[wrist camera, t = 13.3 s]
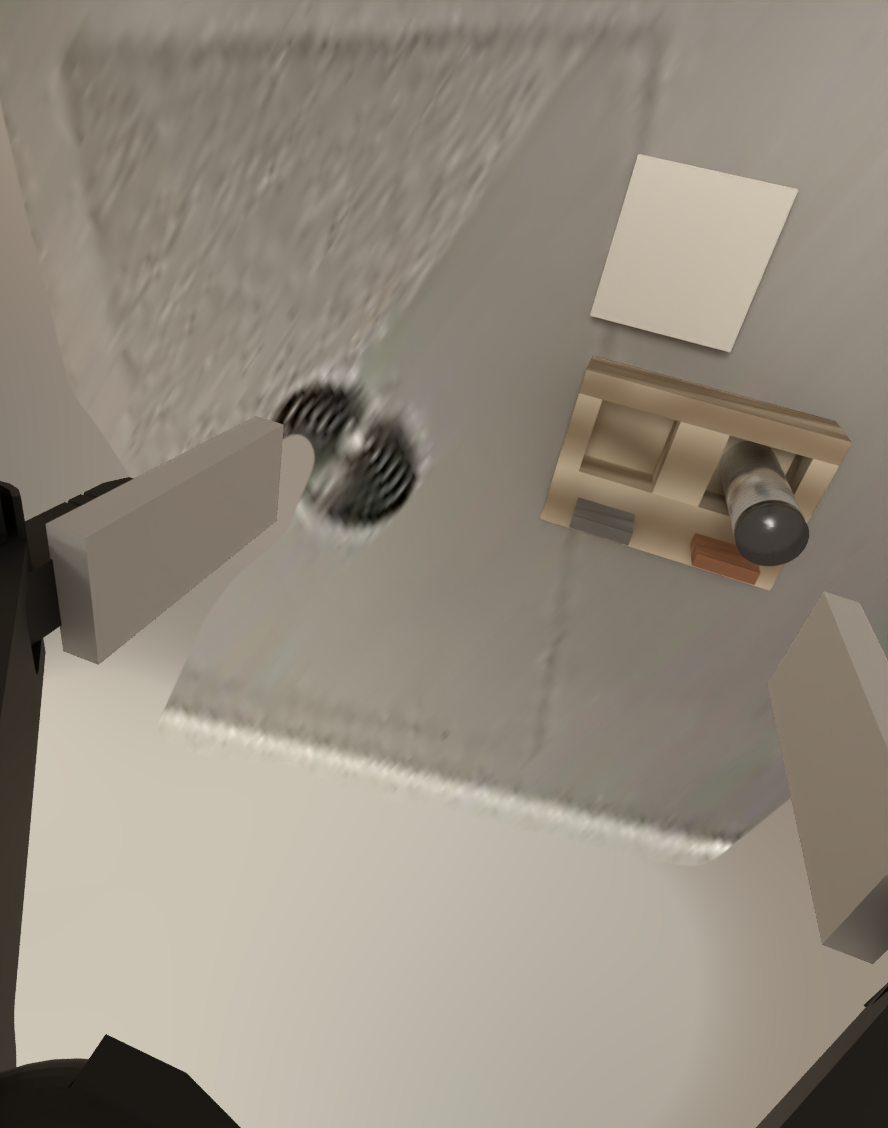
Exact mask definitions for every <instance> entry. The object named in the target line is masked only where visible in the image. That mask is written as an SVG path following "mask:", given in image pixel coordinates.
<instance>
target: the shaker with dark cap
mask: <svg viewBox="0 0 888 1128" xmlns="http://www.w3.org/2000/svg"><path fill="white" fill-rule="evenodd" d="M719 471H720V476H721V481H722V485H723V489H724V494H725V498H726V503H727V507H728V511H729V516H730V520H731V525H732V529H733V533H734V538H735V542H736V546H737V549H738V551H739V552H740V554H741V555H742V556H743V557H744V558H745V559H747V560H748V561H750V562H752V563H754V564H757V565H761V566H777V565H782V564H785V563H787V562H789V561H791V560H793V559H794V558H796V557H797V556H798V555H799V554H800V553H801V552H802V551H803V550H804V548H805V547H806V545H807V542H808V539H809V529H808V526H807V523H806V521H805V519H804V517H803V514H802V512H801V510H800V508H799V505H798V503H797V501H796V499H795V497H794V494H793V492H792V490H791V488H790V485H789V483H788V481H787V479H786V477H785V474H784V472H783V470H782V468H781V465H780V463H779V461H778V459H777V457H776V454H775V453H774V451H773V450H772V449H771V448H770V447H769V446H766V445H762V444H759V443H755V442H752V441H744V442H740V443H738V444H736V445H734V446H732V447H731V448H729V449H728V450H727V451H726V452H725V454H724V455H723V457H722V459H721V461H720V466H719Z"/></svg>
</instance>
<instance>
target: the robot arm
mask: <svg viewBox="0 0 888 1128" xmlns="http://www.w3.org/2000/svg"><path fill="white" fill-rule="evenodd" d="M282 438H283V424H280V423H276V422H273V421H270V420H267V419H263V418H260V417H257V416H255V417H253V418H251V419H249V420H247V421H245V422H244V423H242V424H240V425H238V426H236V427H234V428H232V429H230V430H228V431H226V432H224V433H222V434H220V435H218V436H216V437H214V438H212V439H210V440H208V441H206V442H205V443H203V444H201V445H199V446H197V447H195V448H193V449H191V450H189V451H187V452H185V453H183V454H181V455H179V456H177V457H175V458H173V459H171V460H169V461H167V462H166V463H164V464H162V465H160V466H158V467H156V468H154V469H152V470H150V471H148V472H146V473H144V474H142V475H140V476H138V477H136V478H134V479H133V478H130V477H128V478H123V479H119V480H114V481H110V482H106V483H103V484H100V485H98V486H96V487H94V488H92V489H90V490H88V491H86V492H84V495H81V494H80V495H78V496H76V497H74V498H72V499H70V500H69V501H68V503H65V502H64V503H62V504H60V505H58V506H56V507H54V508H52V509H50V510H48V511H46V512H43V513H42V514H40V515H38V516H35V517H33V518H32V519H29V520H27V521H25V520H24V514H23V508H22V501H21V496H20V493H19V490H18V489H17V488H16V487H14V486H13V485H11V484H9V483H5V482H1V481H0V1128H240V1127H239V1126H238V1125H237V1124H236V1123H235V1122H234V1121H233V1120H232V1119H231V1117H230V1116H228V1114H227V1113H226V1112H224V1110H223V1109H222V1108H220V1106H219V1105H218V1104H217V1103H216V1102H215V1101H214V1100H213V1099H212V1098H211V1097H210V1096H209V1095H208V1094H207V1093H206V1092H205V1091H204V1090H203V1089H202V1088H201V1087H200V1086H199V1085H198V1084H197V1083H196V1082H195V1081H194V1080H193V1079H192V1078H191V1077H190V1076H189V1075H188V1074H187V1073H185V1072H183V1071H181V1070H179V1069H177V1068H175V1067H173V1066H171V1065H169V1064H166V1063H164V1062H162V1061H160V1060H158V1059H156V1058H154V1057H152V1056H150V1055H148V1054H146V1053H144V1052H142V1051H140V1050H138V1049H135V1048H133V1047H131V1046H129V1045H127V1044H125V1043H123V1042H121V1041H119V1040H117V1039H115V1038H113V1037H111V1036H108V1035H107V1034H106V1035H105V1036H104V1038H103V1039H102V1041H101V1042H100V1044H99V1045H98V1047H97V1048H96V1049H95V1051H94V1052H93V1054H92V1056H91V1057H90V1058H89V1059H55V1060H48V1061H43V1062H37V1063H31V1064H26V1065H23V1066H20V1067H16V1044H15V1030H14V1004H15V991H16V979H17V968H18V957H19V946H20V934H21V923H22V911H23V901H24V889H25V878H26V867H27V855H28V844H29V833H30V822H31V809H32V799H33V788H34V776H35V764H36V754H37V741H38V731H39V720H40V707H41V697H42V686H43V674H44V663H45V647H44V640H43V637H45V636H46V635H48V634H49V633H51V632H52V631H54V630H55V629H56V628H58V627H59V626H60V630H61V637H62V644H63V651H64V652H67V653H70V654H72V655H75V656H77V657H80V658H83V659H85V660H88V661H90V662H93V663H96V664H100V663H101V662H102V661H104V660H105V659H106V658H107V657H109V656H110V655H111V654H112V653H114V652H115V651H116V650H117V649H118V648H120V647H121V646H122V645H123V644H125V643H126V642H127V641H128V640H130V639H131V638H132V637H133V636H135V635H136V634H137V633H138V632H140V631H141V630H142V629H143V628H144V627H146V626H147V625H148V624H149V623H151V622H152V621H153V620H154V619H156V618H157V617H158V616H159V615H160V614H162V613H163V612H164V611H166V610H167V609H168V608H169V607H171V605H173V604H174V603H175V602H176V601H178V600H179V599H180V598H182V597H183V596H184V595H185V594H187V593H188V592H189V591H190V590H192V589H193V588H194V587H195V586H196V585H198V584H199V583H200V582H201V581H203V580H204V579H205V578H206V577H207V576H209V575H210V574H211V573H213V572H214V571H215V570H216V569H218V568H219V567H220V566H221V565H222V564H224V563H225V562H226V561H227V560H228V559H230V558H231V557H232V556H234V555H235V554H236V553H237V552H239V551H240V550H241V549H242V548H243V547H245V546H246V545H247V544H248V543H250V542H251V541H252V540H253V539H255V538H256V537H257V536H258V535H260V534H261V533H262V532H263V531H265V530H266V529H267V528H268V527H269V526H271V525H272V524H273V523H274V522H276V521H277V509H278V495H279V480H280V467H281V452H282ZM767 686H768V691H769V695H770V700H771V705H772V710H773V714H774V719H775V724H776V729H777V733H778V738H779V743H780V748H781V752H782V757H783V762H784V767H785V771H786V776H787V781H788V786H789V790H790V795H791V800H792V804H793V809H794V814H795V819H796V823H797V828H798V833H799V838H800V842H801V847H802V852H803V857H804V861H805V866H806V870H807V876H808V880H809V885H810V890H811V894H812V899H813V903H814V909H815V913H816V918H817V923H818V927H819V932H820V937H821V942H822V945H825V946H828V947H830V948H833V949H835V950H838V951H841V952H843V953H845V954H848V955H851V956H853V957H856V958H858V959H861V960H864V961H866V962H869V963H871V964H873V963H874V962H875V961H876V960H878V959H879V958H880V957H881V956H882V955H883V954H884V953H885V952H886V951H887V950H888V660H887V658H886V656H885V654H884V652H883V650H882V648H881V646H880V644H879V642H878V640H877V638H876V636H875V633H874V631H873V629H872V627H871V625H870V623H869V621H868V619H867V617H866V615H865V613H864V611H863V609H862V607H861V605H860V603H859V602H856V601H853V600H849V599H846V598H843V597H840V596H836V595H833V594H830V593H827V592H823V593H822V595H821V596H820V598H819V600H818V601H817V603H816V605H815V606H814V608H813V610H812V611H811V613H810V614H809V616H808V618H807V619H806V621H805V623H804V624H803V626H802V628H801V629H800V631H799V633H798V634H797V636H796V638H795V639H794V641H793V642H792V644H791V646H790V647H789V649H788V651H787V652H786V654H785V656H784V657H783V659H782V661H781V662H780V664H779V666H778V667H777V669H776V670H775V672H774V674H773V675H772V677H771V679H770V680H769V682H768V684H767ZM864 1006H865V1007H866V1008H865V1009H864V1010H863V1011H862V1012H861V1013H860V1014H859V1016H858V1017H857V1018H856V1019H855V1020H854V1021H853V1022H852V1023H851V1024H850V1025H849V1026H848V1028H847V1029H846V1030H845V1031H844V1032H843V1033H842V1034H841V1035H840V1036H839V1038H838V1039H837V1040H836V1041H835V1042H834V1043H833V1044H832V1045H831V1046H830V1047H829V1048H828V1049H827V1050H826V1052H825V1053H824V1054H823V1055H822V1056H821V1057H820V1058H819V1059H818V1061H816V1063H815V1064H814V1065H813V1066H812V1067H811V1068H810V1069H809V1070H808V1071H807V1072H806V1073H805V1075H804V1076H803V1077H802V1078H801V1079H800V1080H799V1081H798V1082H797V1083H796V1085H795V1086H794V1087H793V1088H792V1089H791V1090H790V1091H789V1092H788V1093H787V1094H786V1096H784V1098H783V1099H782V1100H781V1101H780V1102H779V1103H778V1104H777V1105H776V1106H775V1107H774V1108H773V1110H772V1111H771V1112H770V1113H769V1114H768V1115H767V1116H766V1117H765V1118H764V1119H763V1121H762V1122H761V1123H760V1124H759V1125H758V1126H757V1127H756V1128H888V983H887V984H886V985H885V986H884V987H883V988H882V989H881V990H880V991H879V992H878V993H877V994H875V995H874V996H873V997H872V998H871V999H870V1000H869V1001H868V1002H867V1003H866V1004H864Z"/></svg>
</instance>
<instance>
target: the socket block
mask: <svg viewBox="0 0 888 1128" xmlns="http://www.w3.org/2000/svg"><path fill="white" fill-rule="evenodd" d="M744 441H752V442H755V443H759V444H762V445H766V446H769V447H770V448H771V449H772V450H773V451H774V453H775V454H776V457H777V459H778V461H779V463H780V465H781V468H782V470H783V472H784V474H785V477H786V479H787V481H788V483H789V485H790V488H791V490H792V492H793V494H794V497H795V499H796V501H797V503H798V505H799V508H800V510H801V512H802V514H803V517H804V519H805V521H806V523H808V521H809V520H810V518H811V516H812V514H813V512H814V511H815V509H816V507H817V505H818V503H819V502H820V500H821V498H822V496H823V494H824V493H825V491H826V489H827V487H828V485H829V484H830V482H831V480H832V478H833V476H834V474H835V473H836V471H837V469H838V467H839V465H840V464H841V462H842V460H843V458H844V456H845V455H846V453H847V451H848V449H849V447H850V446H851V444H852V442H851V440H850V439H849V438H848V437H847V435H846V434H845V433H844V431H843V430H842V429H841V428H840V426H839V425H838V424H837V423H836V421H832V420H828V419H825V418H821V417H817V416H813V415H810V414H806V413H802V412H799V411H795V410H791V409H788V408H784V407H780V406H777V405H773V404H769V403H765V402H762V401H758V400H754V399H751V398H747V397H743V396H740V395H736V394H732V393H729V392H725V391H721V390H717V389H714V388H710V387H706V386H703V385H699V384H695V383H692V382H688V381H684V380H681V379H677V378H673V377H669V376H666V375H662V374H658V373H655V372H651V371H647V370H644V369H640V368H636V367H633V366H629V365H625V364H621V363H618V362H614V361H610V360H607V359H603V358H599V357H596V356H593V357H592V359H591V361H590V363H589V365H588V367H587V369H586V372H585V376H584V379H583V382H582V385H581V389H580V392H579V395H578V398H577V401H576V405H575V408H574V411H573V414H572V418H571V421H570V424H569V427H568V431H567V434H566V437H565V440H564V443H563V447H562V450H561V453H560V456H559V460H558V463H557V466H556V469H555V472H554V476H553V479H552V482H551V485H550V489H549V492H548V495H547V498H546V501H545V505H544V508H543V511H542V514H541V518H540V519H542V520H545V521H549V522H552V523H555V524H558V525H561V526H565V527H568V528H571V529H574V530H577V531H581V532H584V533H587V534H590V535H593V536H597V537H600V538H603V539H606V540H609V541H613V542H616V543H619V544H622V545H625V546H629V547H632V548H635V549H638V550H641V551H645V552H648V553H651V554H654V555H657V556H661V557H664V558H667V559H670V560H673V561H677V562H680V563H683V564H686V565H689V566H693V567H696V568H699V569H702V570H705V571H709V572H712V573H715V574H718V575H721V576H725V577H728V578H731V579H734V580H737V581H741V582H744V583H747V584H750V585H753V586H757V587H760V588H763V589H766V590H769V591H770V590H771V588H772V586H773V584H774V583H775V581H776V579H777V577H778V575H779V574H780V572H781V570H782V568H783V566H784V565H785V564H782V565H777V566H761V565H757V564H754V563H752V562H750V561H748V560H747V559H745V558H744V557H743V556H742V555H741V554H740V552H739V551H738V549H737V546H736V542H735V538H734V533H733V529H732V525H731V520H730V516H729V511H728V507H727V503H726V498H725V494H724V489H723V485H722V481H721V476H720V471H719V466H720V461H721V459H722V457H723V455H724V454H725V452H726V451H727V450H728V449H729V448H731V447H732V446H734V445H736V444H738V443H740V442H744Z"/></svg>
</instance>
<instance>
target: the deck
mask: <svg viewBox="0 0 888 1128" xmlns="http://www.w3.org/2000/svg"><path fill="white" fill-rule="evenodd" d="M798 190H799V189H794V188H790V187H785V186H781V185H776V184H772V183H767V182H762V181H758V180H753V179H749V178H744V177H740V176H735V175H731V174H726V173H722V172H717V171H713V170H708V169H704V168H699V167H695V166H690V165H686V164H681V163H677V162H672V161H668V160H663V159H659V158H654V157H650V156H645V155H641V154H638V157H637V160H636V164H635V167H634V170H633V174H632V177H631V180H630V184H629V187H628V190H627V194H626V197H625V200H624V204H623V207H622V210H621V214H620V217H619V220H618V224H617V227H616V230H615V234H614V237H613V240H612V244H611V247H610V250H609V254H608V257H607V260H606V264H605V267H604V270H603V274H602V277H601V280H600V284H599V287H598V290H597V294H596V297H595V300H594V304H593V307H592V310H591V314H590V316H593V317H597V318H601V319H605V320H608V321H612V322H616V323H620V324H624V325H627V326H631V327H635V328H639V329H643V330H647V331H650V332H654V333H658V334H662V335H666V336H669V337H673V338H677V339H681V340H685V341H689V342H692V343H696V344H700V345H704V346H708V347H711V348H715V349H719V350H723V351H727V352H731V349H732V347H733V345H734V342H735V340H736V338H737V335H738V333H739V330H740V328H741V326H742V323H743V321H744V318H745V316H746V314H747V311H748V309H749V307H750V304H751V302H752V299H753V297H754V295H755V292H756V290H757V287H758V285H759V283H760V280H761V278H762V276H763V273H764V271H765V268H766V266H767V264H768V261H769V259H770V256H771V254H772V252H773V249H774V247H775V245H776V242H777V240H778V237H779V235H780V233H781V230H782V228H783V225H784V223H785V221H786V218H787V216H788V214H789V211H790V209H791V206H792V204H793V202H794V199H795V197H796V194H797V192H798Z"/></svg>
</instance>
